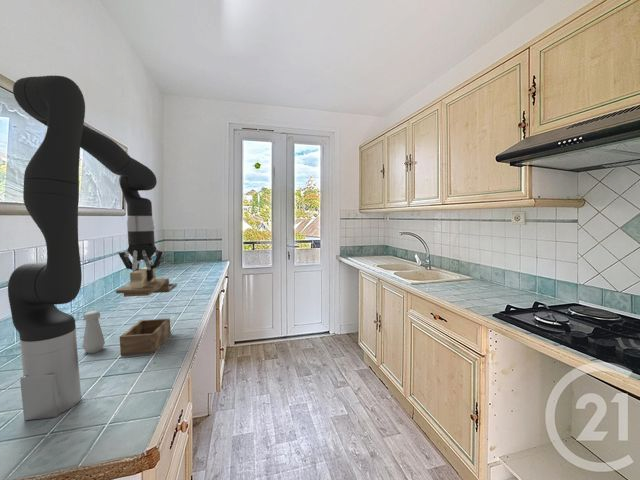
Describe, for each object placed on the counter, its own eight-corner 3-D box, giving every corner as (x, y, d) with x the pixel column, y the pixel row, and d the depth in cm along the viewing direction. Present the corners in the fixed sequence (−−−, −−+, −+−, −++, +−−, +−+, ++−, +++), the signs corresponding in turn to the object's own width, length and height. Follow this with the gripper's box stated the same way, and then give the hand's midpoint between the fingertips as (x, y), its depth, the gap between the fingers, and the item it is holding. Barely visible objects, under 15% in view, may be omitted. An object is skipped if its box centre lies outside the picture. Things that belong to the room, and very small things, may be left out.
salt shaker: (93, 355, 92) (90, 315, 91) (78, 354, 93) (75, 314, 92) (109, 347, 97) (107, 309, 96) (95, 346, 99) (92, 308, 98)
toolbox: (155, 352, 93) (154, 334, 93) (120, 355, 92) (119, 336, 91) (170, 334, 108) (169, 318, 107) (141, 336, 106) (140, 320, 106)
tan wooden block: (152, 304, 92) (150, 272, 91) (117, 306, 90) (115, 274, 89) (177, 286, 117) (175, 261, 116) (150, 287, 115) (148, 262, 114)
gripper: (111, 230, 92) (115, 284, 93) (159, 229, 94) (162, 282, 95) (123, 229, 99) (126, 279, 100) (167, 229, 102) (169, 277, 103)
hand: (143, 280), depth 98 cm, fingers closed on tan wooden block, 3 cm apart
